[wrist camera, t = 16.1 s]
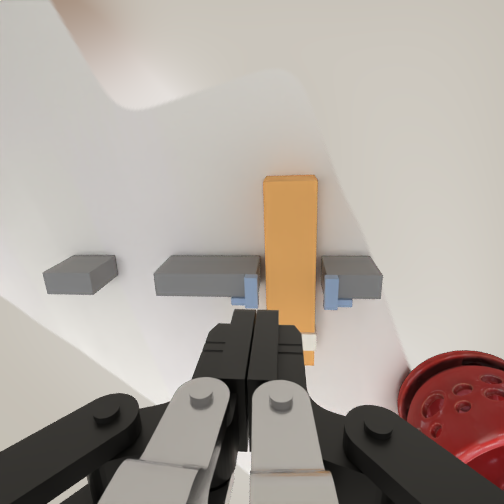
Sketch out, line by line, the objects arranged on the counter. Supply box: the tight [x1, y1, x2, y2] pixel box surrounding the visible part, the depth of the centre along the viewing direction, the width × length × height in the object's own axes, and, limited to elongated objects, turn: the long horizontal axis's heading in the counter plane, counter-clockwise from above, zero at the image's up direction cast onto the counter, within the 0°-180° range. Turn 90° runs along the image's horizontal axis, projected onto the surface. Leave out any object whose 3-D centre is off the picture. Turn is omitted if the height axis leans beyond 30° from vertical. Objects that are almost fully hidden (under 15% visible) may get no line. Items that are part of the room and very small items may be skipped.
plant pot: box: [398, 350, 504, 490], centre depth 28 cm, size 13×13×12 cm
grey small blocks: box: [43, 255, 383, 310], centre depth 30 cm, size 28×3×5 cm, turn 92°
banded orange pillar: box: [263, 175, 318, 366], centre depth 30 cm, size 4×16×4 cm, turn 2°
